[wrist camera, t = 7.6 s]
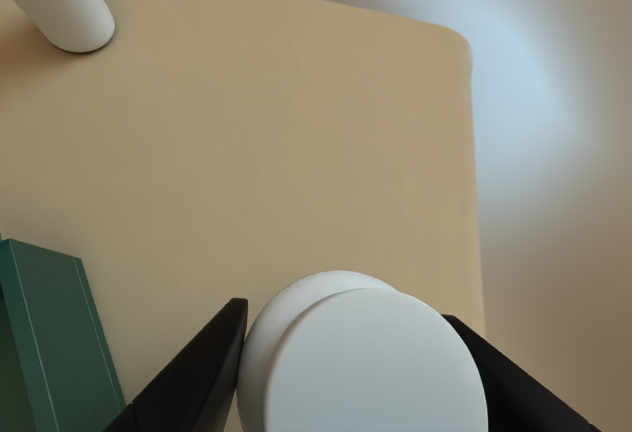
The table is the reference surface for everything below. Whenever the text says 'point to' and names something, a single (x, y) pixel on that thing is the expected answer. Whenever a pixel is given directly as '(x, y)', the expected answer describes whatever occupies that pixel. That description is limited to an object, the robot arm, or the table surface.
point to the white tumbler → (71, 22)
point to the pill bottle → (355, 363)
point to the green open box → (52, 346)
